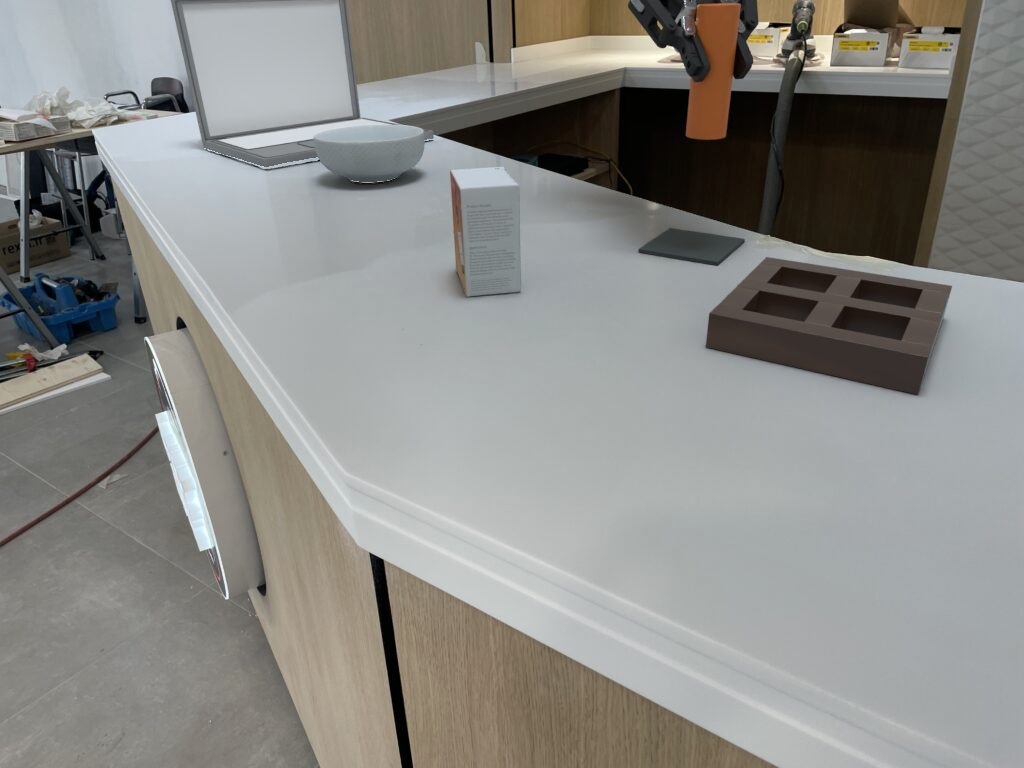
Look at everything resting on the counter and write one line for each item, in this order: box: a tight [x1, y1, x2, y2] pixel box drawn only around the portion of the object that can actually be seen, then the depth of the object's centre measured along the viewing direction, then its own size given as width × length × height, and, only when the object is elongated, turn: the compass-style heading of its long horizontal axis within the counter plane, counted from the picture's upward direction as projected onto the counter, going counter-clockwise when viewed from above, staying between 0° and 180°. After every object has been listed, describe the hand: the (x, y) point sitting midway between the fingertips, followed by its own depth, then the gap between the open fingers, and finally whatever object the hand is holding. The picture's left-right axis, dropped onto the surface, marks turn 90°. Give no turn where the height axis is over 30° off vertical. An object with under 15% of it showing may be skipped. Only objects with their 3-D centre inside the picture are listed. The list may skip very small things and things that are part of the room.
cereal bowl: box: [314, 124, 426, 182], centre depth 114 cm, size 17×17×7 cm
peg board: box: [705, 256, 953, 396], centre depth 61 cm, size 16×16×3 cm
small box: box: [449, 166, 522, 298], centre depth 71 cm, size 8×6×10 cm
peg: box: [685, 3, 741, 141], centre depth 72 cm, size 4×4×12 cm
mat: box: [638, 227, 746, 266], centre depth 82 cm, size 9×9×1 cm
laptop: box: [170, 0, 435, 167], centre depth 136 cm, size 35×28×26 cm
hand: (723, 74), depth 70 cm, fingers closed on peg, 4 cm apart
